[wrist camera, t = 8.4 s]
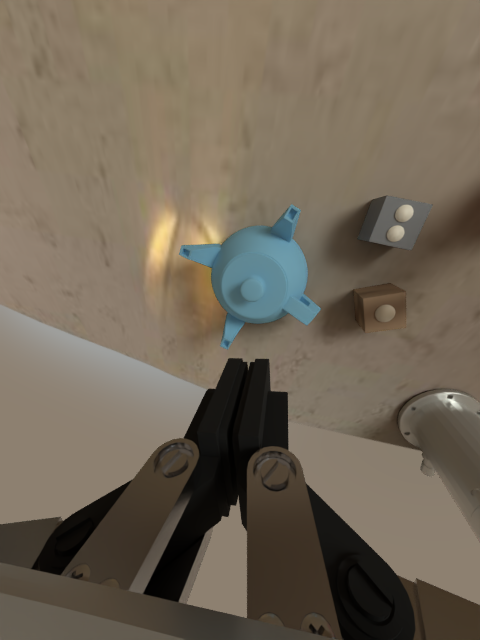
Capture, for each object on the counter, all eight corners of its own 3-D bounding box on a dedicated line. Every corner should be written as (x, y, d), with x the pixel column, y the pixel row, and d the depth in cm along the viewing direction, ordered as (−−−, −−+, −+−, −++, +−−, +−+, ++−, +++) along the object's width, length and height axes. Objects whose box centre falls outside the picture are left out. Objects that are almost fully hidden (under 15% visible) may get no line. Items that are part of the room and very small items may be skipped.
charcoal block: (393, 246, 33) (411, 250, 28) (357, 239, 33) (369, 241, 29) (410, 207, 31) (433, 204, 26) (371, 199, 31) (387, 195, 27)
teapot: (229, 328, 42) (213, 360, 32) (197, 243, 37) (166, 249, 27) (319, 305, 38) (331, 334, 28) (295, 206, 33) (300, 199, 23)
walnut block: (390, 314, 36) (406, 328, 32) (355, 320, 38) (365, 333, 33) (389, 283, 35) (406, 292, 30) (353, 289, 36) (363, 299, 31)
